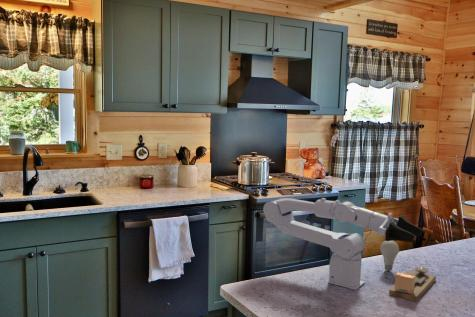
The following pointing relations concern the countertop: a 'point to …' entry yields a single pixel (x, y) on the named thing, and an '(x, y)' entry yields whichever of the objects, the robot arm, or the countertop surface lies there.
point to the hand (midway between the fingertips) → (417, 235)
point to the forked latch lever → (406, 282)
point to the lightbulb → (389, 253)
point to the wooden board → (415, 287)
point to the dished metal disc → (421, 270)
